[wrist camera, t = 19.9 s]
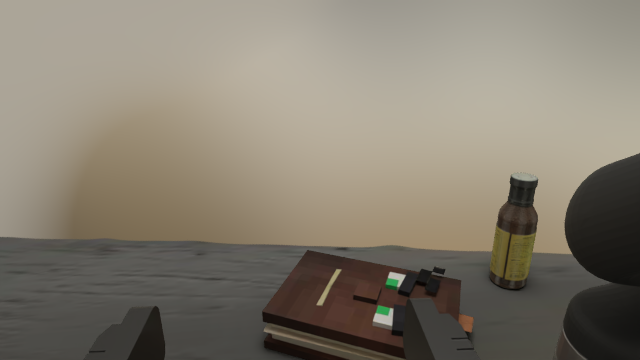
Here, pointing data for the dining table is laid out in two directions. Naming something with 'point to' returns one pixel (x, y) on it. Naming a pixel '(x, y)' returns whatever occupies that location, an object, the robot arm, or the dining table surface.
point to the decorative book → (351, 308)
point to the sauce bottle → (515, 234)
